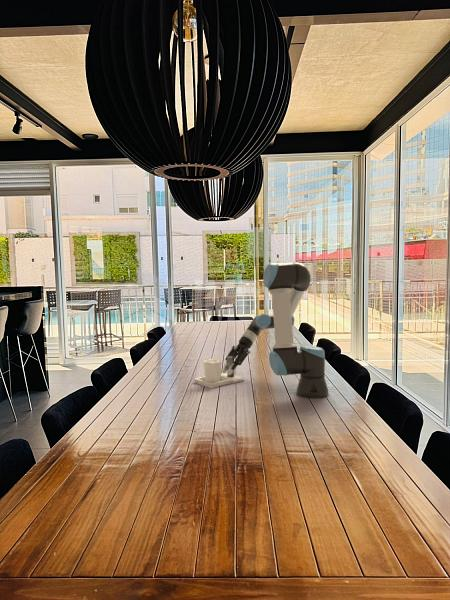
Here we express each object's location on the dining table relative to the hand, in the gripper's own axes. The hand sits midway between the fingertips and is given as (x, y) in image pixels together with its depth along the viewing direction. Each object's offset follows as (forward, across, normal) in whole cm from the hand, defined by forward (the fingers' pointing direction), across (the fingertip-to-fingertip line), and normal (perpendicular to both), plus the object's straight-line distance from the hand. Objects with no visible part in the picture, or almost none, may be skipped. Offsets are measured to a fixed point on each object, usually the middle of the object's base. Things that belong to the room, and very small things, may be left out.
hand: (225, 373), depth 237 cm
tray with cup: (+6, 0, 0) cm, 6 cm away
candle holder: (+9, 0, +3) cm, 10 cm away
